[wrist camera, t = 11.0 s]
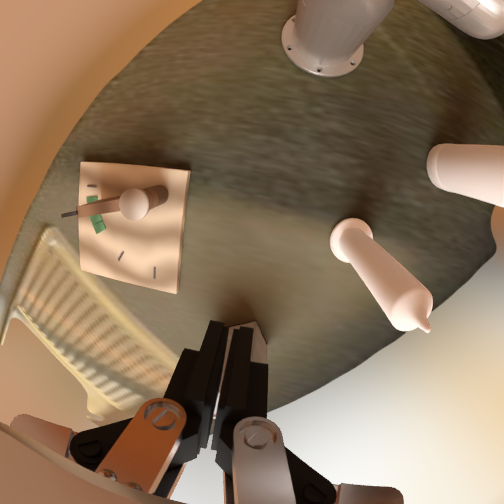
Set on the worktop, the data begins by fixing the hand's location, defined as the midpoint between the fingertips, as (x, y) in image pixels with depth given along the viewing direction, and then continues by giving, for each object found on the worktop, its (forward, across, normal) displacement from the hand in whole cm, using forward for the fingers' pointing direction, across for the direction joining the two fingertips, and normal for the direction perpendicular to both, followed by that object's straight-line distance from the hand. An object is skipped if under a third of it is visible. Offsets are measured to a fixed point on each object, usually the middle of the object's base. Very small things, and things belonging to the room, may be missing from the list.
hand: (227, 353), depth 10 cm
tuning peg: (+30, +21, +2) cm, 37 cm away
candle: (+32, -15, +2) cm, 36 cm away
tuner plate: (+32, +21, +6) cm, 39 cm away
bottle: (+32, -29, -14) cm, 46 cm away
